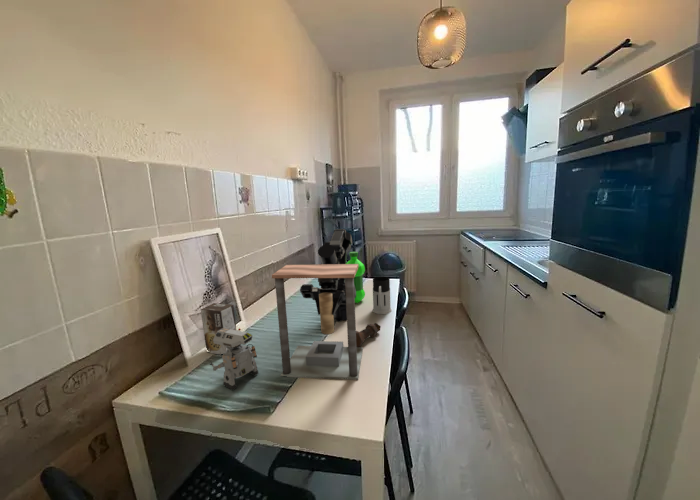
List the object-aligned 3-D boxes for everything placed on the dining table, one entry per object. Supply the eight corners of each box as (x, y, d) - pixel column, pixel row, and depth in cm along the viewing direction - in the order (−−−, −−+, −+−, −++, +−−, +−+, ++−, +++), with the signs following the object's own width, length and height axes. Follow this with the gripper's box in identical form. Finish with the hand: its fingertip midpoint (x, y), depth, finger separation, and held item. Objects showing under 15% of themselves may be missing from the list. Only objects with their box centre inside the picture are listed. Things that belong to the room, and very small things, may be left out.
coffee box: (239, 347, 106) (234, 304, 103) (226, 356, 100) (221, 311, 97) (219, 343, 109) (213, 302, 106) (205, 352, 103) (199, 308, 100)
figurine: (238, 365, 94) (233, 321, 91) (262, 376, 87) (257, 329, 85) (211, 380, 86) (205, 332, 84) (235, 393, 80) (229, 342, 77)
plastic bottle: (342, 299, 151) (339, 252, 147) (360, 296, 155) (358, 249, 151) (350, 305, 142) (348, 255, 138) (369, 302, 146) (368, 252, 142)
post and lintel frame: (298, 347, 104) (291, 261, 98) (362, 348, 101) (359, 260, 95) (280, 376, 87) (271, 274, 81) (358, 379, 84) (354, 274, 78)
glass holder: (391, 307, 138) (391, 276, 135) (390, 319, 124) (390, 285, 122) (373, 306, 140) (372, 276, 137) (370, 318, 126) (369, 285, 123)
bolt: (379, 336, 113) (357, 350, 101) (369, 328, 115) (346, 340, 103) (385, 325, 111) (363, 338, 99) (375, 316, 113) (353, 328, 101)
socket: (314, 350, 101) (313, 340, 100) (343, 351, 100) (343, 341, 99) (306, 367, 91) (305, 356, 90) (339, 368, 90) (338, 357, 89)
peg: (318, 332, 98) (316, 295, 96) (326, 327, 102) (324, 291, 100) (329, 335, 96) (327, 297, 94) (336, 330, 99) (334, 293, 97)
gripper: (299, 261, 100) (291, 303, 91) (353, 260, 98) (351, 304, 89) (307, 278, 109) (300, 317, 100) (357, 277, 107) (355, 318, 98)
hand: (325, 314), depth 96 cm, fingers closed on peg, 4 cm apart
